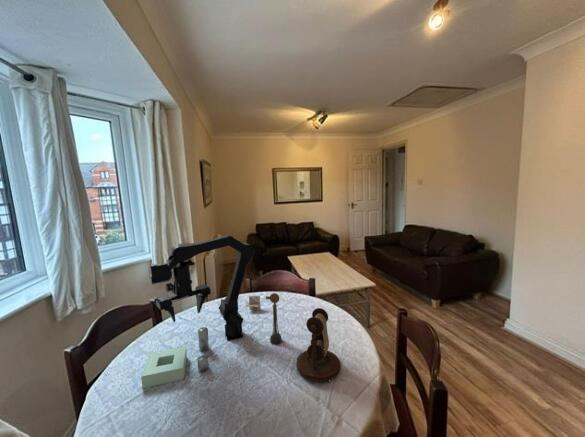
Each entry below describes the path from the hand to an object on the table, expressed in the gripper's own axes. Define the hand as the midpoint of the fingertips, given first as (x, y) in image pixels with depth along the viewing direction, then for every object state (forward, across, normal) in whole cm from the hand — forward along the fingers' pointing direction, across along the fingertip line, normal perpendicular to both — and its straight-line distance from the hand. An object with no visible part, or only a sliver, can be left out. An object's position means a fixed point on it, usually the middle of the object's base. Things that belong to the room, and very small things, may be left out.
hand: (186, 317), depth 100 cm
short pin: (+13, +1, +15) cm, 20 cm away
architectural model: (+14, -36, -9) cm, 40 cm away
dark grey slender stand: (+14, -26, +19) cm, 36 cm away
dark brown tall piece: (+14, -27, +43) cm, 52 cm away
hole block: (+12, +11, +8) cm, 18 cm away
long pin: (+13, -4, +4) cm, 14 cm away
